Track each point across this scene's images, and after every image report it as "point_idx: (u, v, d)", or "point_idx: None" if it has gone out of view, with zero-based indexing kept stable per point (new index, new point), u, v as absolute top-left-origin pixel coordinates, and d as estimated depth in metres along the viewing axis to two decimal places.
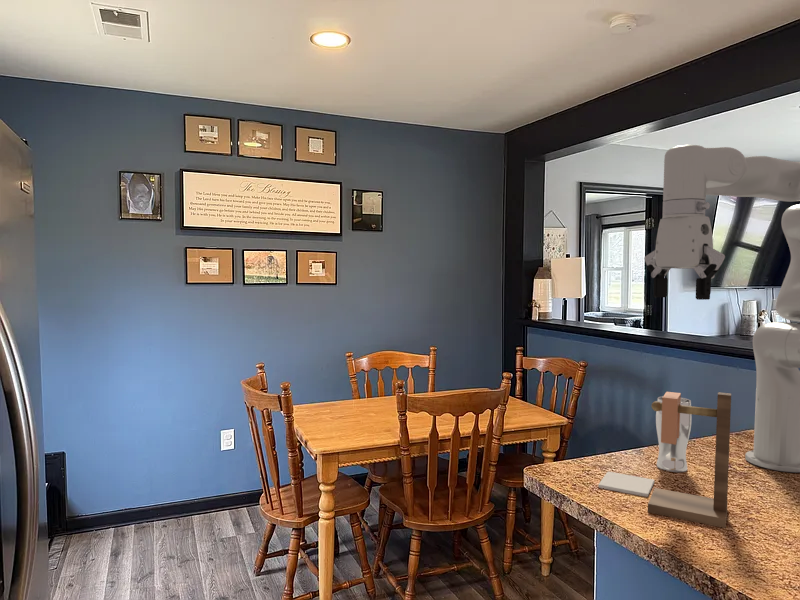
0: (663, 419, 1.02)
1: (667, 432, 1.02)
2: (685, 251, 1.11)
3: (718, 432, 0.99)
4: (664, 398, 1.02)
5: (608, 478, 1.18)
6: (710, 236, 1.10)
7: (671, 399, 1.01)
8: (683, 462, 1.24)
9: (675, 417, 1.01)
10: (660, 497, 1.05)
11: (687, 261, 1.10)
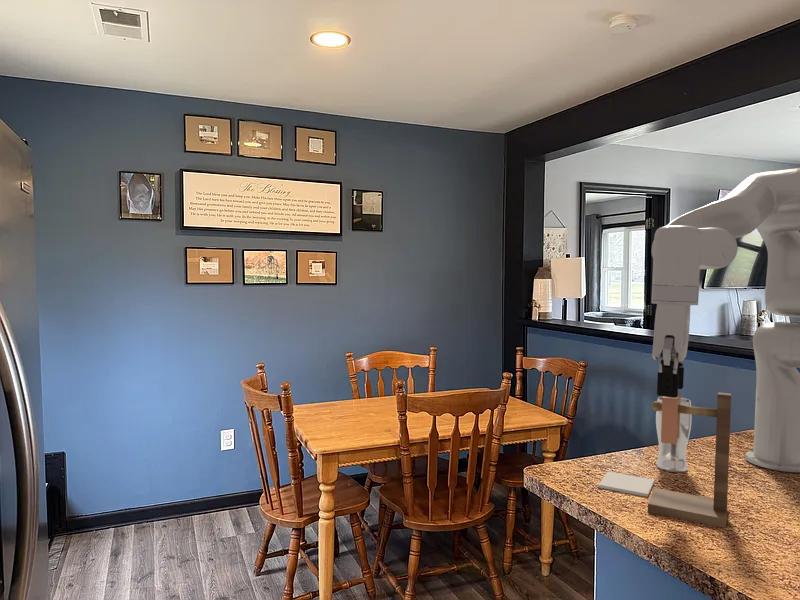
0: (663, 419, 1.02)
1: (667, 432, 1.02)
2: None
3: (718, 432, 0.99)
4: (664, 398, 1.02)
5: (608, 478, 1.18)
6: None
7: (671, 399, 1.01)
8: (683, 462, 1.24)
9: (675, 417, 1.01)
10: (660, 497, 1.05)
11: None
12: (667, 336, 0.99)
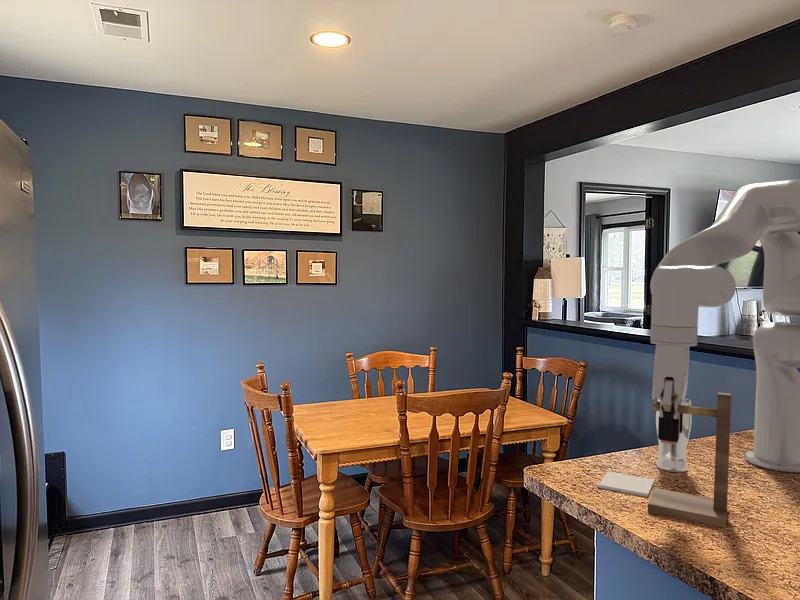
0: None
1: None
2: None
3: (718, 432, 0.99)
4: None
5: (608, 478, 1.18)
6: None
7: None
8: (683, 462, 1.24)
9: None
10: (660, 497, 1.05)
11: None
12: (666, 380, 1.00)
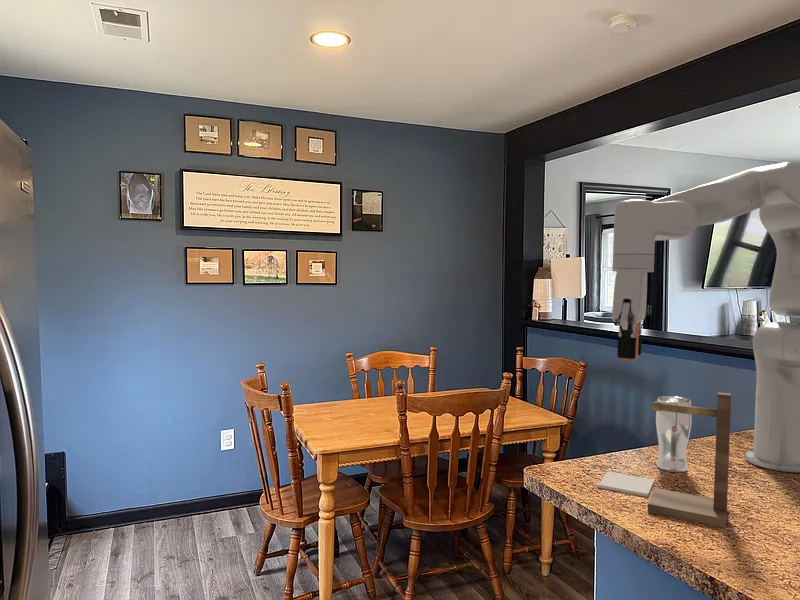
0: None
1: None
2: (645, 305, 1.15)
3: (718, 432, 0.99)
4: None
5: (608, 478, 1.18)
6: None
7: (629, 320, 1.11)
8: (683, 462, 1.24)
9: None
10: (660, 497, 1.05)
11: (644, 315, 1.15)
12: (625, 302, 1.10)
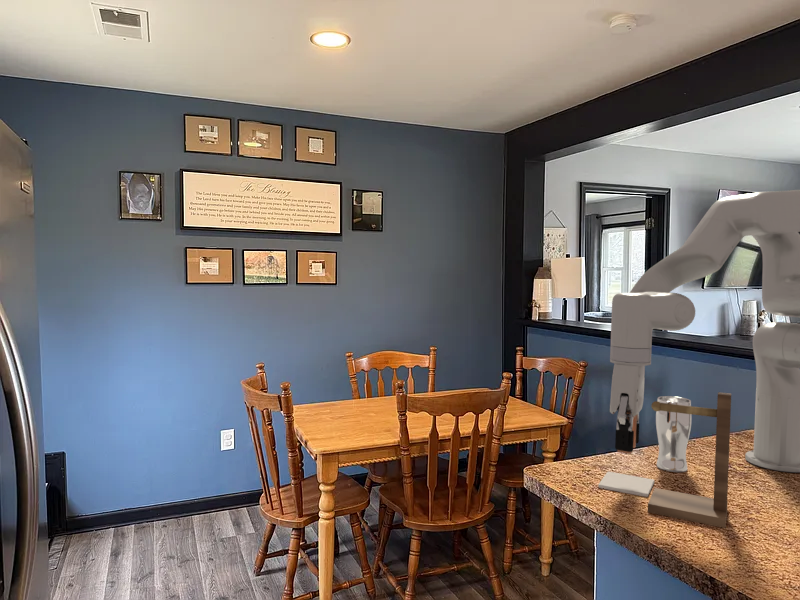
0: None
1: None
2: (643, 395, 1.16)
3: (718, 432, 0.99)
4: None
5: (608, 478, 1.18)
6: None
7: (626, 413, 1.12)
8: (683, 462, 1.24)
9: None
10: (660, 497, 1.05)
11: (642, 404, 1.16)
12: (622, 396, 1.11)
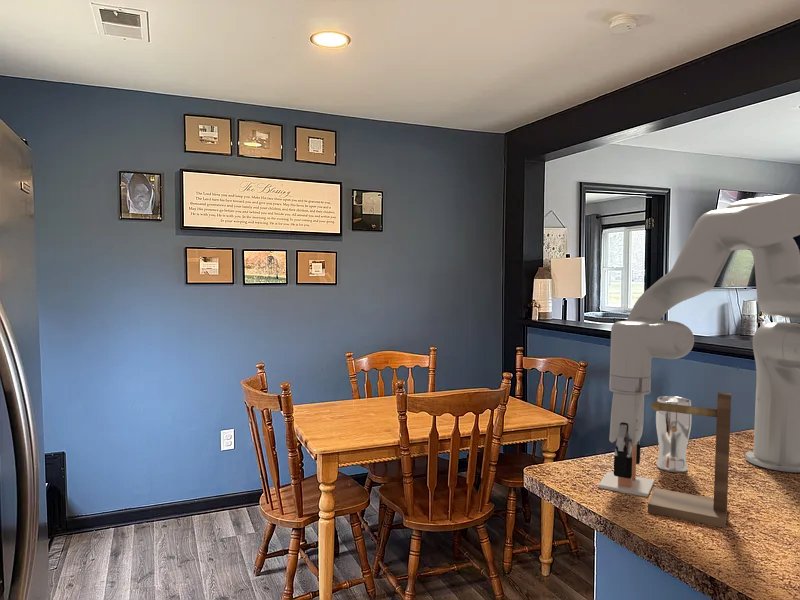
0: None
1: None
2: None
3: (718, 432, 0.99)
4: None
5: (608, 478, 1.18)
6: None
7: None
8: (683, 462, 1.24)
9: None
10: (660, 497, 1.05)
11: (641, 432, 1.16)
12: (622, 423, 1.11)
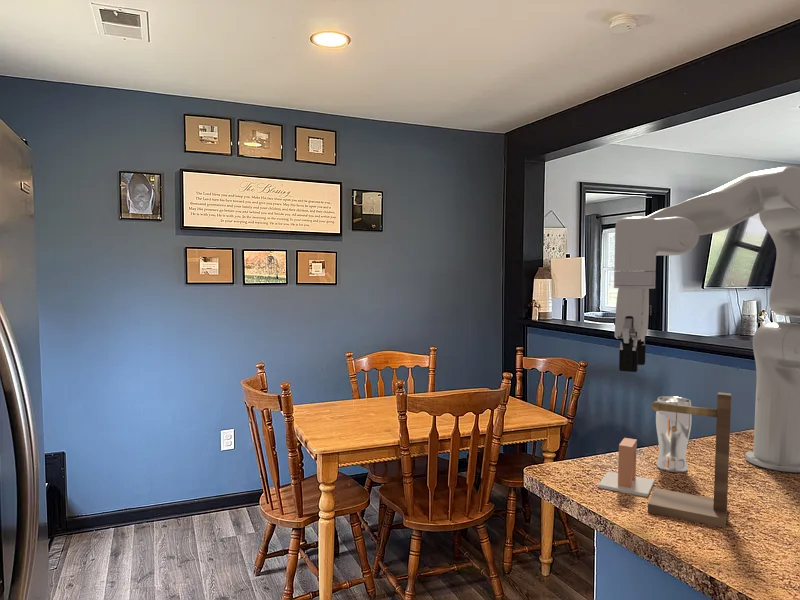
0: (619, 465, 1.13)
1: (623, 476, 1.13)
2: None
3: (718, 432, 0.99)
4: (620, 446, 1.13)
5: (608, 478, 1.18)
6: None
7: (626, 447, 1.12)
8: (683, 462, 1.24)
9: (630, 463, 1.12)
10: (660, 497, 1.05)
11: (647, 330, 1.16)
12: (627, 317, 1.10)
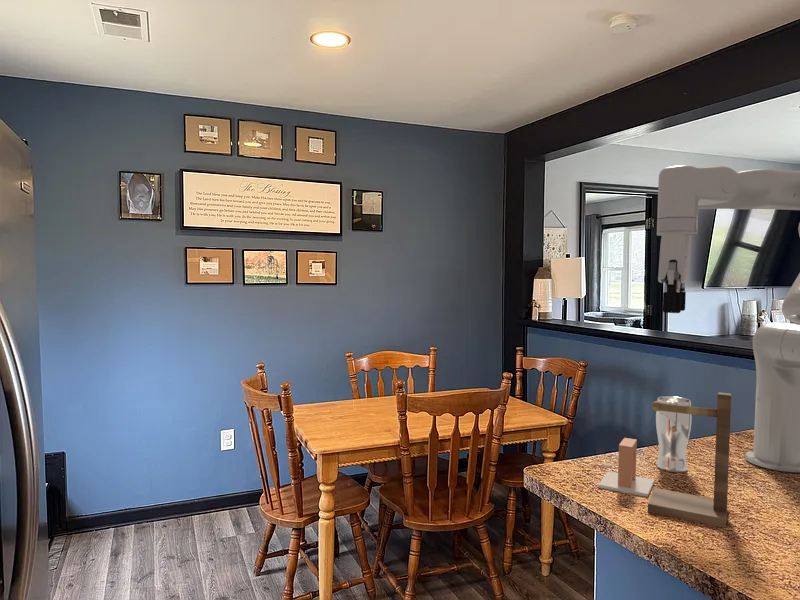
0: (619, 465, 1.13)
1: (623, 476, 1.13)
2: None
3: (718, 432, 0.99)
4: (620, 446, 1.13)
5: (608, 478, 1.18)
6: None
7: (626, 447, 1.12)
8: (683, 462, 1.24)
9: (630, 463, 1.12)
10: (660, 497, 1.05)
11: None
12: (671, 261, 1.15)
